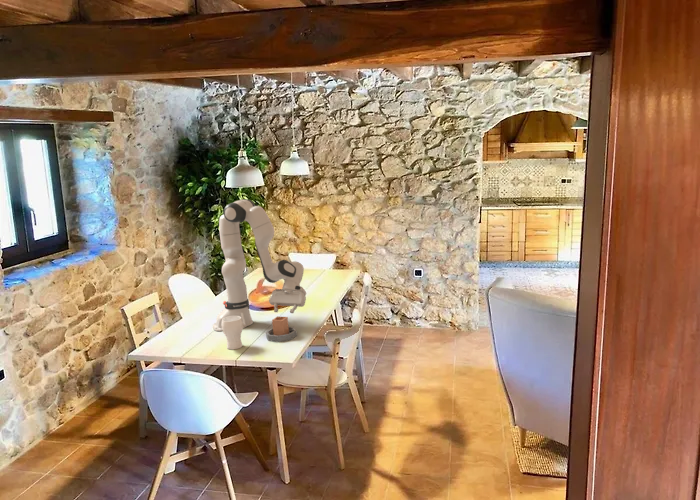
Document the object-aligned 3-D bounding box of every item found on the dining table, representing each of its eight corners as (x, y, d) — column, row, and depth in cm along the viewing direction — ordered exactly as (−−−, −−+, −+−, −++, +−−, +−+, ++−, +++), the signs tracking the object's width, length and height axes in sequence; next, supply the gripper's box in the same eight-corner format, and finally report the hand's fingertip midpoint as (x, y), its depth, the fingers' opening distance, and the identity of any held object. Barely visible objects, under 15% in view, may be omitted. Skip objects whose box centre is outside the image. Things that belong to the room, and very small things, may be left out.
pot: (283, 337, 301) (282, 320, 299) (273, 336, 303) (272, 320, 301) (289, 333, 306) (287, 316, 304) (278, 332, 308) (277, 316, 306)
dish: (270, 343, 295) (269, 338, 295) (264, 334, 309) (264, 329, 309) (299, 338, 300) (298, 333, 299) (292, 329, 314) (291, 324, 313)
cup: (226, 352, 287) (223, 323, 285) (222, 345, 297) (218, 317, 294) (247, 347, 291) (244, 319, 289) (242, 341, 301) (239, 314, 298)
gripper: (271, 286, 315) (263, 308, 308) (305, 287, 308) (298, 310, 301) (275, 291, 320) (268, 313, 313) (309, 293, 313) (302, 316, 306)
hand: (283, 312), depth 307 cm, fingers open, 8 cm apart
